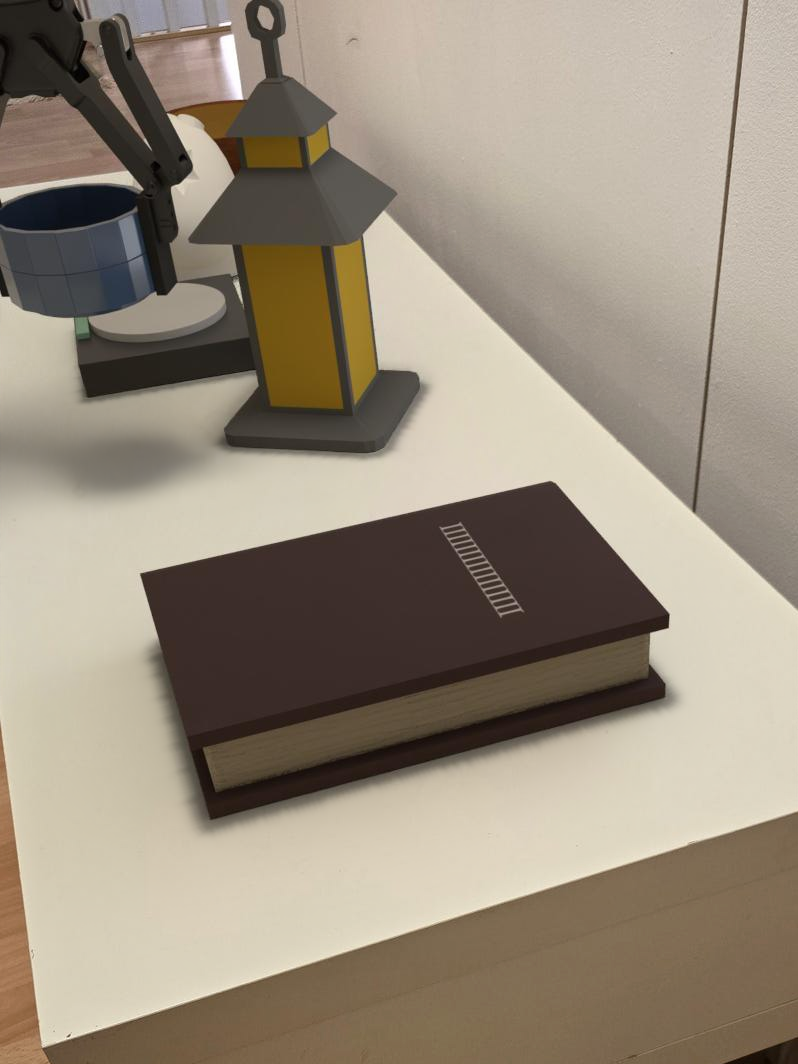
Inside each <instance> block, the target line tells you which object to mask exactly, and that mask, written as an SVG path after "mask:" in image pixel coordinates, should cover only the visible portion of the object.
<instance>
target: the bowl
mask: <svg viewBox="0 0 798 1064" xmlns="http://www.w3.org/2000/svg"><path fill="white" fill-rule="evenodd" d="M247 100H248V99H226V100H217V101H209V102H208V101H207V102H202V103H201V102H200V103H195V104H191V105H185V106H182V107H178V108H174V109H170V110H167V111H166V113H168V114H172V115H175V116H177V117H178V115H179V114H185V115H190V116H192V117H195V118H196V119H198V120H199V121H200V122H201V123H202V124H203V125H204V131H205V132H206V133H207V134H208V135H209V136H210V137H211V139H212V140H213V141H214V142H215V143H216V144H217V146H218V147H219V149H220V150H221V152H222V153H223V155H224V156H225V158H226V160H227V162H228V164H229V166H230V168H231V170H232V172H233V174H234V177H235V176H236V174H237V173H238V171H239V170H240V168H241V164H240V158H239V153H238V147H237V141H236V137H225V134H226V132H227V130H228V129H229V127H230V126H231V124H232V123H233V121H234V120H235V118H236V117H237V115H238V113H239V112H240V110H241V109H242V107H243V106H244V104H245V103H246V101H247Z"/></svg>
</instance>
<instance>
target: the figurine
mask: <svg viewBox="0 0 798 1064" xmlns="http://www.w3.org/2000/svg"><path fill="white" fill-rule="evenodd" d="M167 115H168V117H169V119H170V121H171V122H172V124H173V126H174V128H175V130H176V132H177V134H178V136H179V138H180V140H181V142H182V144H183V146H184V147H185V149H186V151H187V153H188V155H189V157H190V159H191V161H192V164H193V170H192V172H191V173H190V174H189V175H188V176H187V177H186V178H185V179H184V180H183V181H182V182H181V183H180V184H178V185H174V186H172V187H171V194H172V199H173V204H174V209H175V214H176V218H177V223H178V228H179V230H178V236H177V237H176V238H175V240H174V241H173V242H172V243H170V248H171V253H172V258H173V262H174V267H175V272H176V276H177V281H184V280H191V279H197V278H204V277H210V276H216V275H223V274H230V275H231V277H232V278H233V277H235V276H238V274H237V269H236V263H235V258H234V253H233V247H232V245H216V244H193V243H189V241H188V238H189V237H190V235H191V234H192V233H193V231H194V230H195V229H196V227H197V226H198V225H199V223H200V222H201V221H202V219H203V218H204V217H205V215H206V214H207V213H208V212H209V210H210V209H211V208H212V206H213V205H214V204H215V202H216V201H217V200H218V198H219V197H220V196H221V194H222V193H223V192H224V190H225V189H226V188H227V187H228V185H229V184H230V183H231V181H232V180H233V179H234V174H233V172H232V170H231V168H230V166H229V164H228V162H227V160H226V158H225V156H224V155H223V153H222V152H221V150H220V149H219V147H218V146H217V144H216V143H215V142H214V141H213V140H212V139H211V137H210V136H209V135H208V134H207V133H206V132H205V131H204V125H203V124H202V123H201V122H200V121H199V120H198V119H196V118H195V117H192V116H190V115H185V114H179V115H178V117H177V116H175V115H172V114H168V113H167ZM143 140H144V142H145V143H146V144H147V145H148V147H149V148H150V146H149V144H148V142H147V140H146V138H145V137H144V139H143ZM150 149H151V148H150ZM132 186H133V187H136V188H138V189H140V190H142V191H143V190H144V189H143V188H142V187H141V186H140V184H139V183H138V182H137V181H136V180H135V178H134V177H133V176H132Z"/></svg>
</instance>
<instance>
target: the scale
mask: <svg viewBox="0 0 798 1064" xmlns="http://www.w3.org/2000/svg"><path fill="white" fill-rule="evenodd" d="M73 324H74V335H75V336H74V337H75V345H76V356H77V366H78V370H79V372H80V376H81V380H82V383H83V386H84V391H85V393H86V397H88V398H91V397H98V396H102V395H103V396H104V395H109V394H114V393H115V394H116V393H121V392H127V391H132V390H140V389H146V388H150V387H156V386H161V385H167V384H175V383H180V382H186V381H192V380H197V379H198V380H199V379H205V378H210V377H215V376H221V375H227V374H232V373H233V374H234V373H240V372H244V371H250V370H255V364H254V359H253V354H252V348H251V343H250V338H249V332H248V327H247V322H246V316H245V311H244V306H243V302H242V301H241V298H240V295H239V293H238V291H237V287H236V285H235V283H234V280H233V276H232V277H231V275H230V274H223V275H216V276H210V277H204V278H197V279H191V280H184V281H178V282H177V284H176V285H175V286H174V287H173V289H172V290H171V291H170V292H169V293H168V295H167V296H157V294H156V292H154V293H152V294H150V295H149V296H148V297H147V298H145V299H144V300H142V301H141V302H139V303H137V304H135V305H133V306H130V307H128V308H125V309H122V310H119V311H116V312H112V313H108V314H103V315H97V316H91V317H81V318H73Z"/></svg>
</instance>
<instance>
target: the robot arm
mask: <svg viewBox="0 0 798 1064" xmlns="http://www.w3.org/2000/svg"><path fill="white" fill-rule="evenodd" d="M130 25H131V24H130V22H129V20H128V17H126V15H124V14H123V13H120V12H116V13H114V14H113V15H111V16H109V17H108V18H90V19H88V18H87V19H86V18H84V16H83V14H82V13H81V12H80V10H79V8H78V6H77V4H76V2H75V0H0V128H1V127H2V123H3V119H4V116H5V113H6V108H7V105H8V102H9V101H10V99H12V100H13V99H24V98H26V97H29V96H31V95H34V96H38V97H41V98H44V99H45V98H56V97H58V96H59V95H61V97H62V98H63V99H64V100H65V102H67V104H68V105H69V106H70V107H72V108H74V109H76V110H77V111H78V112H79V113H80V114H81V115H82V117H83V118H84V119H85V120H86V122H87V123H88V124H89V125H90V127H91V128H92V129H93V131H95V133H96V134H97V135H98V136H99V137H100V138H101V140H102V141H103V143H105V145H106V146H108V148H109V149H110V151H111V152H112V153H113V154H114V156H115V157H116V158H117V159H118V161H119V162H120V163H121V164H122V165H123V166H124V168H125V169H126V170H127V172H128V173H129V174H130V175H131V176H132V178H133V177H134V178H135V180H136V181H137V182H138V183H139V184H140V186H141V187H142V188H143V189H144V190H143V191H142V192H141V193H140V194H139V195H138V196H137V197H136V198H135V201H136V205H137V210H138V214H139V219H140V223H141V228H142V232H143V236H144V241H145V245H146V250H147V254H148V258H149V263H150V267H151V272H152V276H153V281H154V285H155V289H156V294H157V296H167V295H168V293H169V292H170V291H171V290H172V289H173V287H174V286H175V285H176V284H177V282H178V281H177V276H176V272H175V267H174V262H173V258H172V253H171V248H170V243H172V242H173V241H174V240H175V238H176V237H177V236H178V230H179V228H178V223H177V218H176V214H175V209H174V204H173V199H172V194H171V187H172V186H174V185H178V184H180V183H181V182H182V181H183V180H184V179H185V178H186V177H187V176H188V175H189V174H190V173H191V172H192V170H193V164H192V161H191V159H190V157H189V155H188V153H187V151H186V149H185V147H184V146H183V144H182V142H181V140H180V138H179V136H178V134H177V132H176V130H175V128H174V126H173V124H172V122H171V121H170V119H169V117H168V115H167V113H166V112H167V111H166V109H165V107H164V105H163V103H162V101H161V99H160V97H159V96H158V94H157V92H156V89H155V88H154V86H153V84H152V82H151V80H150V78H149V76H148V75H147V73H146V70H145V68H144V67H143V65H142V62H141V61H140V60H139V57H138V55H137V53H136V49H135V43H134V40H133V35H132V34H133V33H132V29H131V26H130ZM88 43H90V44H91V45H92V46H93V48H94V50H95V52H96V54H97V55H98V56H99V57H100V58H101V59H104V60H105V62H106V65H107V67H108V70H109V72H110V75H111V77H112V79H113V81H114V82H115V85H116V86H117V88H118V90H119V92H120V94H121V96H122V97H123V99H124V101H125V103H126V105H127V107H128V108H129V111H130V113H131V114H132V116H133V118H134V120H135V121H136V123H137V125H138V127H139V129H140V131H141V133H142V135H143V136H144V139H145V138H146V140H147V142H148V144H149V146H150V148H151V149H150V148H149V147H148V145H147V144H146V143H145V142H144V139H143V138H142V137H141V135H140V134H139V133H138V131H136V129H135V128H134V126H133V125H132V124H131V123H130V122H129V121H128V119H127V118H126V117H125V116H124V114H123V113H122V112H121V111H120V109H119V107H117V106H116V104H115V103H114V102H113V100H112V99H111V98H110V97H109V96H108V95H107V93H106V92H105V91H104V89H103V87H102V86H101V81H100V79H98V77H97V76H96V74H95V73H94V72H93V71H92V70H91V68H90V67H89V66H88V65H87V63H86V62H85V61H84V60H83V55H84V52H85V49H86V47H87V44H88ZM1 203H2V200H1V198H0V204H1ZM0 296H1V298H10V296H9V293H8V289H7V286H6V283H5V280H4V276H3V273H2V270H1V266H0Z"/></svg>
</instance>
